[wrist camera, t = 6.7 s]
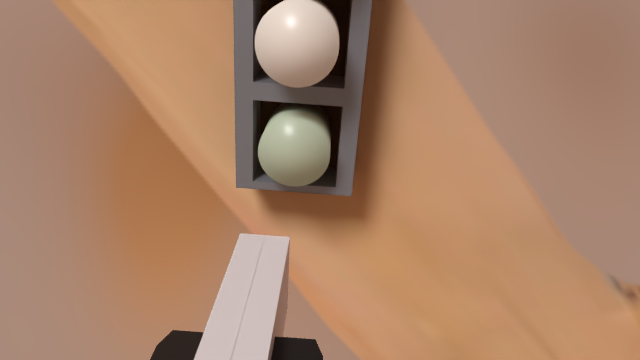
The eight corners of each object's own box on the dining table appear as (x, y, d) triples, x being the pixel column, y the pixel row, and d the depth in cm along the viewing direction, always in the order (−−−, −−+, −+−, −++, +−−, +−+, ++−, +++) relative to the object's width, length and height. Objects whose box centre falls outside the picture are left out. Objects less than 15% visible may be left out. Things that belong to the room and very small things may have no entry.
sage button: (268, 96, 28) (258, 116, 24) (333, 101, 28) (332, 121, 24) (267, 157, 30) (257, 183, 26) (328, 161, 30) (327, 189, 26)
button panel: (243, -164, 23) (230, -181, 20) (384, -154, 23) (390, -170, 20) (245, 167, 30) (236, 187, 28) (350, 175, 30) (351, 196, 28)
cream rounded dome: (267, -8, 24) (254, -3, 21) (341, -3, 24) (342, 3, 21) (265, 68, 26) (254, 84, 22) (335, 73, 26) (335, 90, 22)
